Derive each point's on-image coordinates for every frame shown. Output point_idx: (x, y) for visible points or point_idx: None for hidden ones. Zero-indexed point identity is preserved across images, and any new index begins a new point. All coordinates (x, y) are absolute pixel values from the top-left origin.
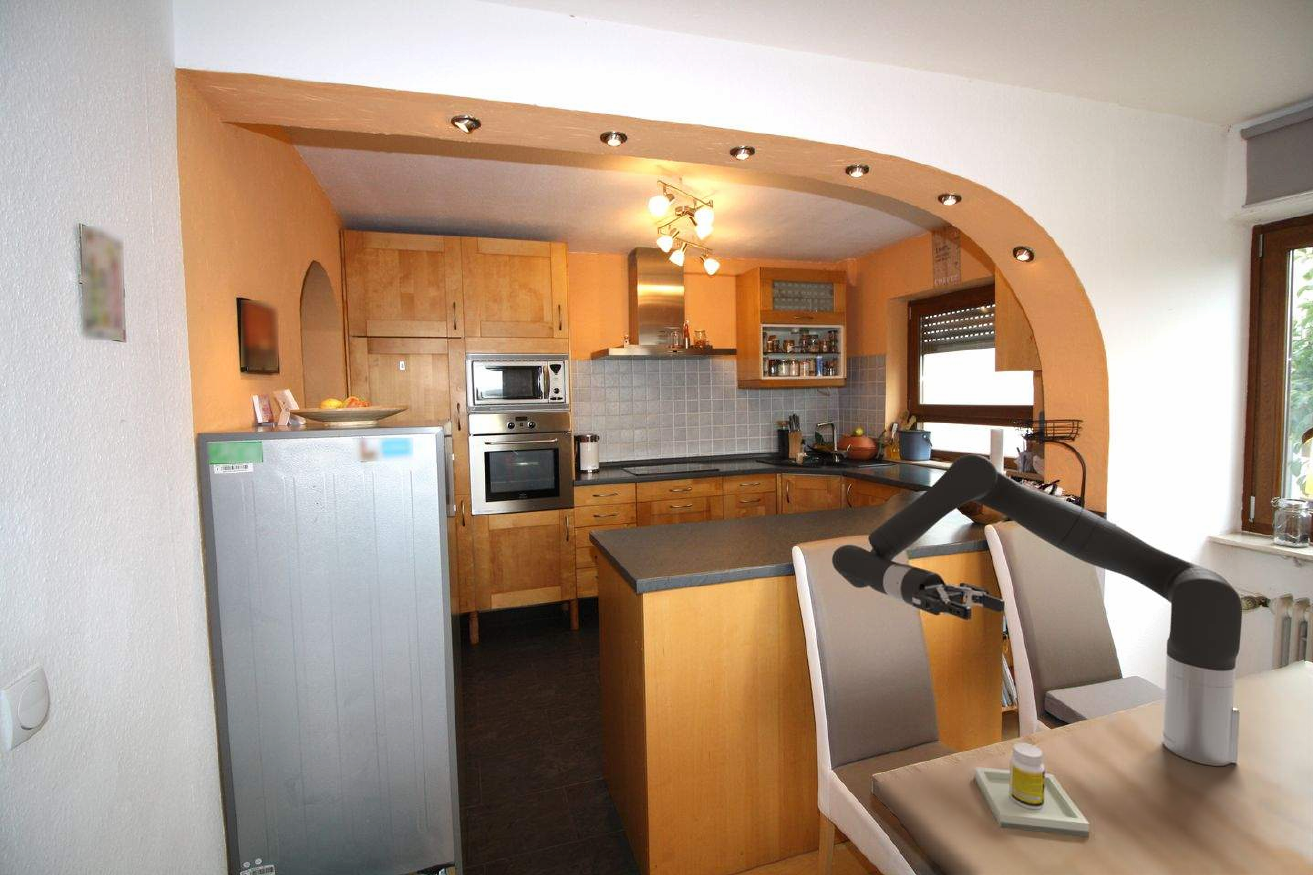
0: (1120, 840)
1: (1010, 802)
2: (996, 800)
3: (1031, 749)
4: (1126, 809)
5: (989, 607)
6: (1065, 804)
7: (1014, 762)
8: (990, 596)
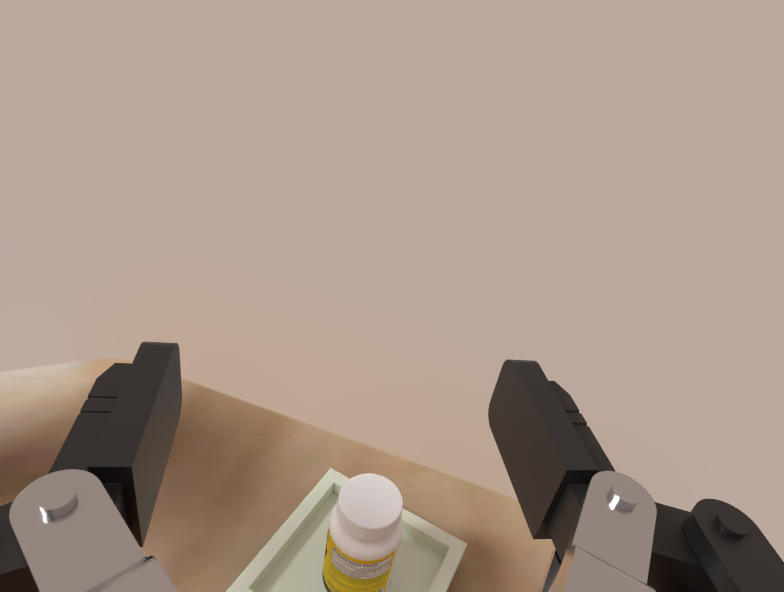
0: (287, 461)
1: (395, 587)
2: (443, 577)
3: (362, 495)
4: (177, 497)
5: (157, 481)
6: (303, 524)
7: (400, 529)
8: (129, 413)
